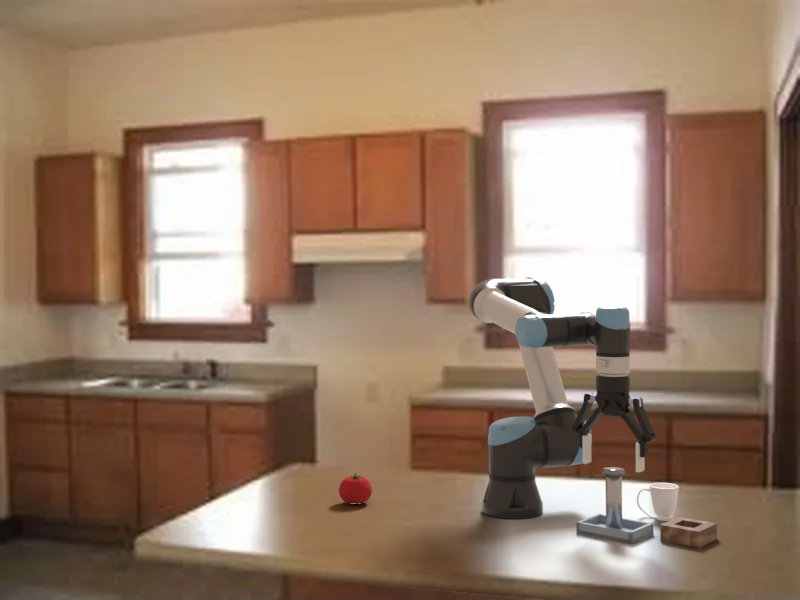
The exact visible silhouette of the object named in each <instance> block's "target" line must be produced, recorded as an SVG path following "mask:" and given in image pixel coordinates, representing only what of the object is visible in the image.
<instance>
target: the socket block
mask: <svg viewBox="0 0 800 600" xmlns="http://www.w3.org/2000/svg"><path fill="white" fill-rule="evenodd" d="M717 525H718V524H717V522H710V521H705V520H700V519H692V518H688V517H681V516H677V517H675V518H674V519H673V520H670V521H665V522H663V523H661V524H660V525H659V528H660V529H659V530H660V531H659V532H660V534H659V535H660V541H662V542H666V543H670V544H671V543H672V544H677V545H682V546H687V547H692V546H694V547H693V548H697V547H698V549H700V548H702V547H704V546H705V545H708V544H710V543H712V542H714V541H716V540H717V539H718V526H717Z"/></svg>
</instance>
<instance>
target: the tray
mask: <svg viewBox="0 0 800 600" xmlns="http://www.w3.org/2000/svg"><path fill="white" fill-rule="evenodd" d="M575 525H576V534H577V535H579V534H580V535H583V536H585V535H586V536H588V537H589V536H590V537H595V538H600V539H604V540H609V541H615V542H620V543H624V544H629V545H633V544H635V543H637V542H640V541H641V540H644V539H647V538H649V537H651V536H654V523H653V522H647V521H643V520H636V519H630V518H625V517H622V530H620V529H615V528H610V527H606V514H602V513H597V514H595V515H593V516H590V517H587V518H584V519H582V520H578V521H576V524H575Z"/></svg>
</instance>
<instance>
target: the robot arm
mask: <svg viewBox="0 0 800 600" xmlns="http://www.w3.org/2000/svg"><path fill="white" fill-rule="evenodd" d="M554 303H555V297H554V293H553V289H552V288H551V286H550V285H549V284H548V282H547V281H546V280H544V279H541V278H538V277H537V278H533V277H524V278H523V277H522V278H519V277H518V278H517V277H516V278H511V277H510V278H489V279H485V280H483V281H480V282H479V283H477V284H476V285H475V286H474V287H473V289H472V290H471V292H470V293H469V296H468V309H469V310H470V313H471V314H472V315H473V316H474V317H475V318H476V319H478V321H481V322H484V323H485V324H495V325H496V326H499V327H501V328H503V329H505V330H507V331H508V332H511V333H513V334H514V335H515V339H516V340H517V342H518V345H519V349H520V354H521V359H522V361H523V365H524V370H525V374H526V379H527V383H528V386H529V390H530V395H531V396H532V401H533V406H534V409H535V414H534V415H533V417H532V416H527V415H526V416H525V415H524V416H523V415H521V416H511V417H505V418H500V419H498V420H495V421H494V422H492V423H491V424H490V426H489V427H488V435H487V437H488V439H487V444H488V445H487V446H488V447H487V449H488V454H487V455H488V483H487V486H486V490H485V493H484V496H483V499H482V503H481V505H482V513H483V514H485V515H487V516H490V517H493V518H499V519H500V518H501V519H512V520H513V519H528V518H533V517H537V516H540V515H541V514H543V513H544V511H543V509H544V507H543V506H544V505H543V504H544V503H543V501H542V497H541V495H540V490H539V488H538V486H537V481H536V469H545V468H547V469H548V468H560V467H571V466H577V465H581V464H583V465H587V464H590V463H592V443H593V437H592V436H593V435H592V428H593V427H594V426H595V425H596V424H597V423H598V422H599V420H600V419H601V417H602V416H610V415H611V416H613V417H620V419H622V420H623V421H624V423H625V424H626V426H627V427H628V428H629V430H630V431H631V433H632V434H633V436H634V437H635V439H636V440H637V441H638V442H635V473H642V472H644V471H646V470H645V466H646V465H645V464H646V463H645V458H647V457H648V455H649V442H652V441H655V440H656V439H657V435H656V432H655V430H654V428H653V426H652V424H651V421H650V419H649V417H648V414H647V412H646V409H645V408H644V400H643V398H642V397H635V398H631V397H630V392H631V391H630V390H631V377H630V376H629V375H628V374H630V372H631V365H630V362H631V360H630V359H631V356H630V353H631V347H630V346H631V321H630V311H629V309H628V308H627V307H625V306H599V307H597V309H596V310H595V311H596V312H595V313H592V312H589V311H588V312H579V313H567V314H563V313H562V314H561V313H560V314H554V312H555V304H554ZM573 346H578V347H579V346H580V347H581V346H594V347H595V367H596V368H595V372H596V373H597V375H596V376H595V390H596V394H594V393H593V392H588V393H584V394H583V403H582V405H581V407H580V409H579V411H578V413H577V410H576V408H575V407H573V406H570V404H568V399H567V395H566V392H565V388H564V384H563V380H562V376H561V373H560V369H559V365H558V362H557V358H556V354H555V351H554V347H573ZM594 403H596V404H597V407H596V408H595V409H594V410H593V413H592V414H591V415H590V417H589V418H588V416H589V413H590V411H591V409H592V407H593V404H594ZM630 405H631V406H630ZM629 406H630V407H631V408H632V409H633V412H632V411H631V409H630V408H629ZM633 413H634V414H635V417H634V415H633ZM636 419H637V420H636Z"/></svg>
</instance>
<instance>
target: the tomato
mask: <svg viewBox="0 0 800 600" xmlns="http://www.w3.org/2000/svg"><path fill="white" fill-rule="evenodd" d="M372 492H373V487H372V484H371V482H370V481H369V479H368V478H367V477H366V476H362V475H357V474H356V473H354V475H349V476H347V477H345V478H344V479H342V481H341V482H340V484H339V487H338V494H339V497H340V498H341V501H343V502H344V503H346V502H347V503H363V502H365V503H366V502H367V501H368V500H369V499H370V498H371V496H372ZM347 503H346V504H347ZM363 504H364V503H363Z"/></svg>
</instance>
